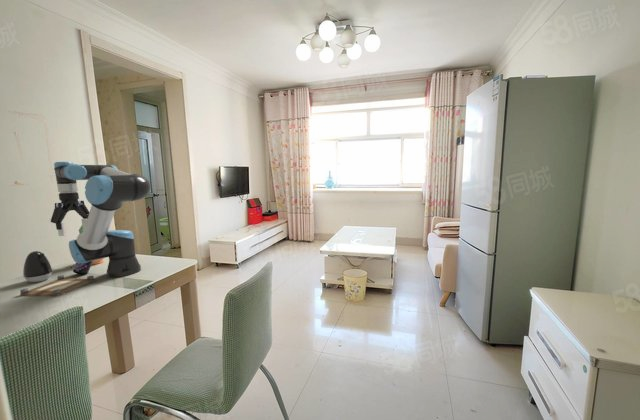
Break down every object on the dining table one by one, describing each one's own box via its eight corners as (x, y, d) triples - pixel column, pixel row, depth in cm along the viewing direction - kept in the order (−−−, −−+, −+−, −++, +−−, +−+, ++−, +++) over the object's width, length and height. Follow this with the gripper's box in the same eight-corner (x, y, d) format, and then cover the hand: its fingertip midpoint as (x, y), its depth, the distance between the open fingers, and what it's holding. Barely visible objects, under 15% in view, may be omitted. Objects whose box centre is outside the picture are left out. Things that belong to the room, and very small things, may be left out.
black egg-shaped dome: (35, 285, 134) (30, 254, 132) (19, 283, 136) (13, 253, 134) (58, 277, 144) (54, 248, 142) (43, 276, 146) (38, 248, 144)
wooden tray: (95, 280, 139) (94, 275, 138) (57, 296, 120) (56, 291, 120) (61, 279, 140) (60, 275, 140) (19, 296, 122) (18, 290, 122)
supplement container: (69, 270, 146) (77, 251, 147) (84, 270, 152) (92, 252, 153) (75, 274, 143) (83, 254, 144) (90, 274, 148) (98, 256, 150)
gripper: (82, 191, 154) (88, 228, 157) (35, 194, 130) (43, 238, 132) (95, 190, 154) (101, 228, 156) (50, 193, 129) (58, 238, 132)
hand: (74, 233), depth 144 cm, fingers open, 13 cm apart
